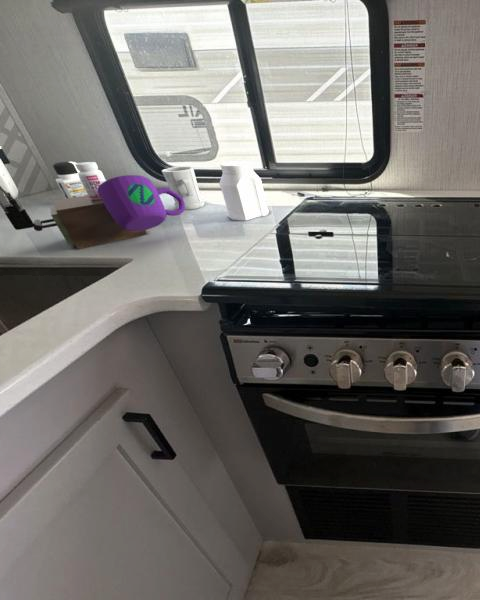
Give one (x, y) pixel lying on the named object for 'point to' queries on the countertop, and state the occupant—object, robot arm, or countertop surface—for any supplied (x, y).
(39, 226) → the drawer
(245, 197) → the jar
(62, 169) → the container
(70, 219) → the cabinet
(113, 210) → the mug
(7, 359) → the countertop surface
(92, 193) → the pill bottle
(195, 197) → the cup
